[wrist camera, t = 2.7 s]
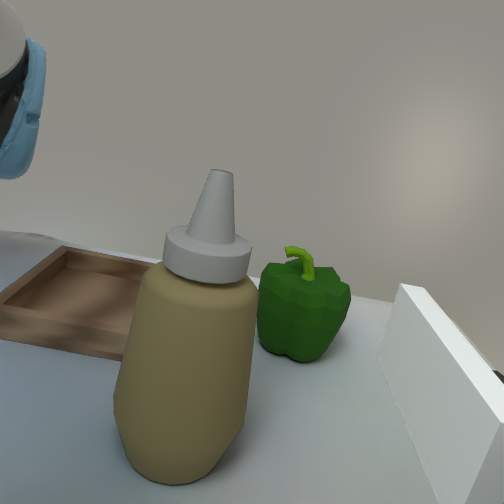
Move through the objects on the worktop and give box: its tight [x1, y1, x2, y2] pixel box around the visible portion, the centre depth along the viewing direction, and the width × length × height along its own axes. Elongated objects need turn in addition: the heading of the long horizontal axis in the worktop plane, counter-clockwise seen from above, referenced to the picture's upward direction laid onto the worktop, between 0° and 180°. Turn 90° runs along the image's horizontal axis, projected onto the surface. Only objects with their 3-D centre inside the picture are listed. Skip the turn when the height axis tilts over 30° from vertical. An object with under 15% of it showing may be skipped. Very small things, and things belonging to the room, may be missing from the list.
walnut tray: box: [0, 246, 155, 361], centre depth 44 cm, size 15×15×2 cm
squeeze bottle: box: [113, 169, 259, 485], centre depth 27 cm, size 8×8×18 cm
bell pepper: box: [257, 246, 351, 362], centre depth 43 cm, size 8×8×10 cm
